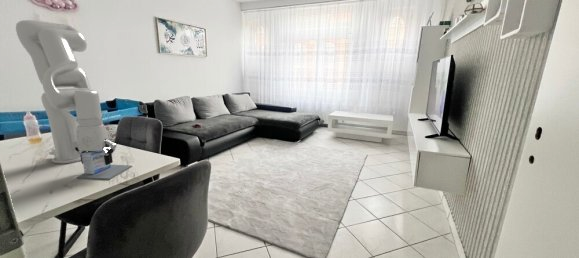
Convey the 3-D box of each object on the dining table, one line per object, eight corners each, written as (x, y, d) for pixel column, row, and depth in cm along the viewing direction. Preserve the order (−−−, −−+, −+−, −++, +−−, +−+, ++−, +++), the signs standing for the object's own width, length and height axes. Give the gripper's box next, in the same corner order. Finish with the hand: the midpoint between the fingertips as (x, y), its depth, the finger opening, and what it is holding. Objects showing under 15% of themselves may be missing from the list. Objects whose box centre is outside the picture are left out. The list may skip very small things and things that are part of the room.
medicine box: (94, 174, 96) (90, 154, 94) (84, 173, 97) (80, 153, 95) (111, 167, 104) (108, 147, 102) (102, 166, 105) (98, 147, 102)
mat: (76, 178, 94) (76, 176, 94) (103, 165, 107) (102, 164, 107) (109, 179, 94) (109, 178, 94) (132, 166, 107) (131, 165, 106)
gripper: (60, 123, 92) (68, 165, 96) (104, 125, 92) (111, 167, 96) (77, 119, 100) (84, 158, 104) (119, 120, 99) (124, 160, 103)
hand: (97, 163), depth 100 cm, fingers open, 9 cm apart
